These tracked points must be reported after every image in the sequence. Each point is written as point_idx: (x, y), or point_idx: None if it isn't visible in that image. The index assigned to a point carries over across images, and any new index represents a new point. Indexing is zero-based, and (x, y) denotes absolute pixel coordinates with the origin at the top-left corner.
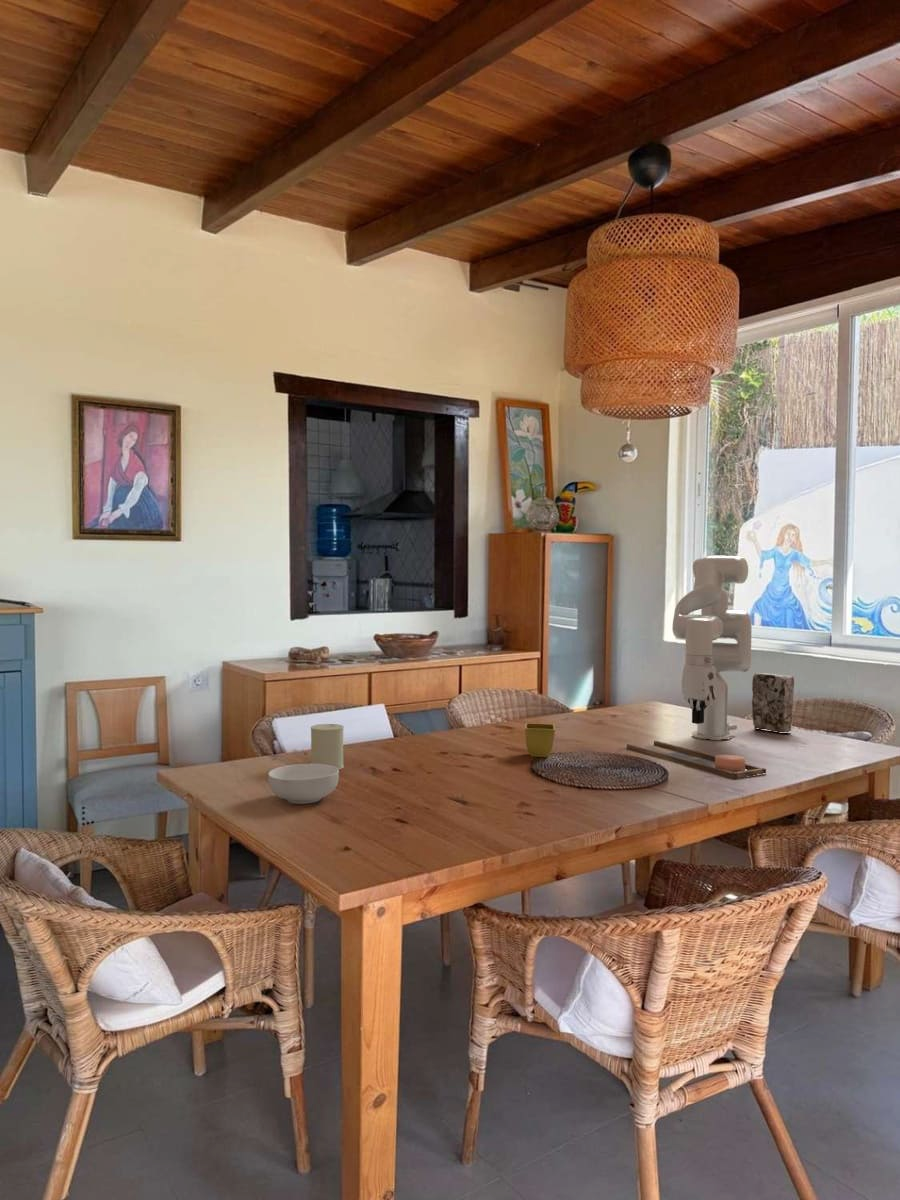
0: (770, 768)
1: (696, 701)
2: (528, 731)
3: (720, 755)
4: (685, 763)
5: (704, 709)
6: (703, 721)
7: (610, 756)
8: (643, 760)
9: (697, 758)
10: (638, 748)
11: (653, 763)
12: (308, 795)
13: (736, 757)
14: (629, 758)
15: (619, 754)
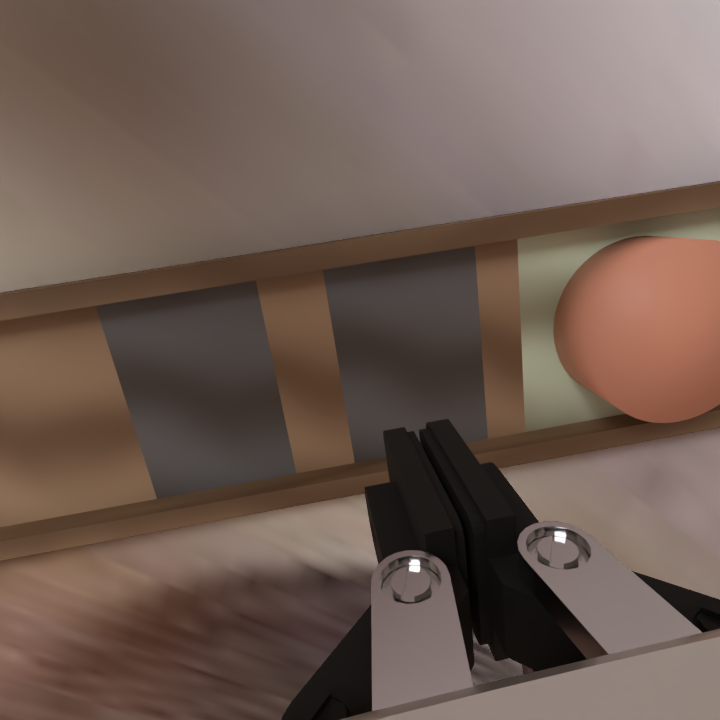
0: (700, 10)
1: (413, 698)
2: None
3: (603, 352)
4: None
5: (565, 542)
6: (449, 427)
7: (118, 699)
8: (250, 599)
9: (308, 311)
10: (19, 552)
11: (328, 584)
12: None
13: (696, 289)
14: (186, 639)
15: (76, 647)
